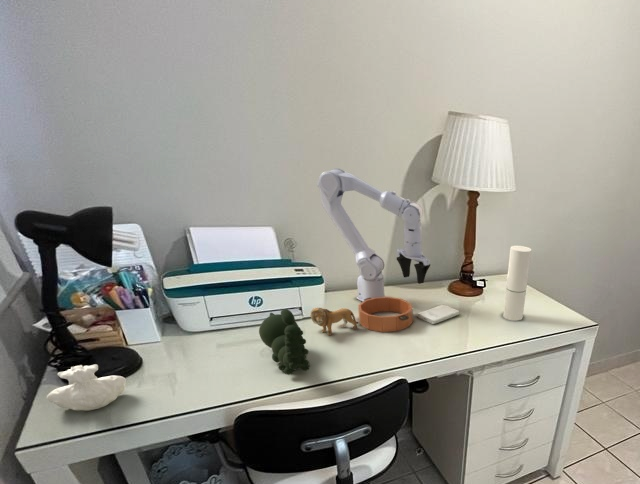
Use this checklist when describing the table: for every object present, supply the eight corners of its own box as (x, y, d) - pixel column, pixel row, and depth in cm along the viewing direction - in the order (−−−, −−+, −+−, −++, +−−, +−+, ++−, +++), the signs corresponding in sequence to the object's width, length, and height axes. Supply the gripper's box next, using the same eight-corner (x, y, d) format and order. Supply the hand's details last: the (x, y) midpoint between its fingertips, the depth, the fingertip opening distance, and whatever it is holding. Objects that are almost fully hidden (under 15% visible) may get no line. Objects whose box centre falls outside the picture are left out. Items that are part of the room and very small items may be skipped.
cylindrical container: (523, 314, 154) (532, 247, 141) (521, 321, 148) (530, 252, 135) (504, 311, 154) (511, 244, 142) (502, 319, 148) (509, 249, 135)
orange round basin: (346, 317, 136) (344, 303, 133) (387, 305, 148) (387, 292, 145) (384, 338, 126) (383, 323, 124) (425, 323, 138) (425, 310, 136)
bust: (61, 424, 85) (43, 405, 76) (48, 392, 86) (29, 370, 77) (136, 403, 92) (127, 384, 84) (123, 374, 93) (114, 352, 85)
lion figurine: (319, 341, 121) (315, 312, 116) (309, 334, 123) (305, 306, 119) (363, 327, 131) (360, 300, 127) (353, 321, 134) (350, 295, 129)
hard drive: (459, 315, 147) (433, 324, 138) (442, 308, 151) (417, 317, 142) (459, 311, 146) (433, 320, 137) (443, 303, 150) (417, 312, 141)
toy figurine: (322, 382, 106) (293, 335, 121) (315, 317, 96) (283, 274, 110) (282, 392, 101) (257, 342, 115) (270, 325, 90) (243, 279, 105)
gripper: (436, 244, 138) (436, 283, 145) (408, 234, 145) (409, 272, 152) (420, 247, 133) (420, 287, 140) (391, 237, 140) (393, 275, 147)
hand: (413, 279), depth 146 cm, fingers open, 7 cm apart
